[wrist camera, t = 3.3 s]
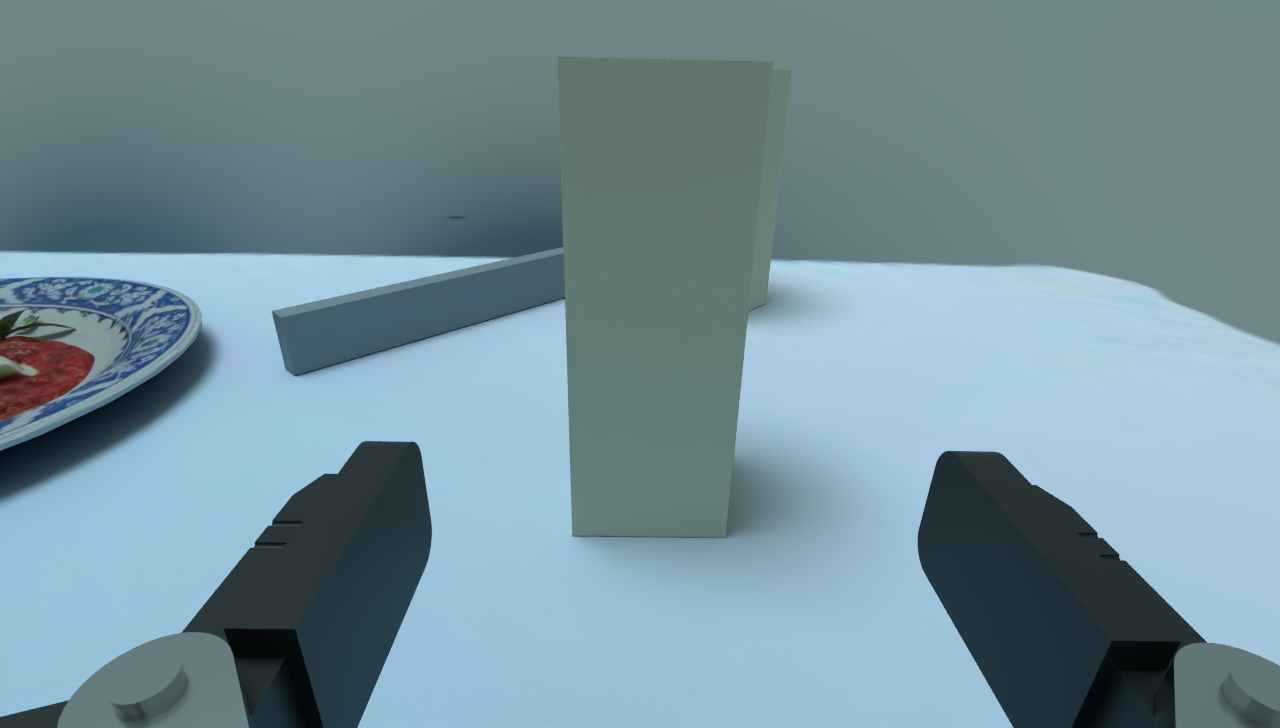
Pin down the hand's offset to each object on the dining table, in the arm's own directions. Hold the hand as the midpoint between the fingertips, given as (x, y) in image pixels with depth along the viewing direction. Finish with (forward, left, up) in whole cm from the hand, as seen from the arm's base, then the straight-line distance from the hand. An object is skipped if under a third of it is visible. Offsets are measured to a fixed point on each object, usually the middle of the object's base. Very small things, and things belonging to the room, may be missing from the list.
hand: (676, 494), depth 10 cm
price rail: (-14, +26, -8) cm, 31 cm away
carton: (-2, +11, -8) cm, 13 cm away
